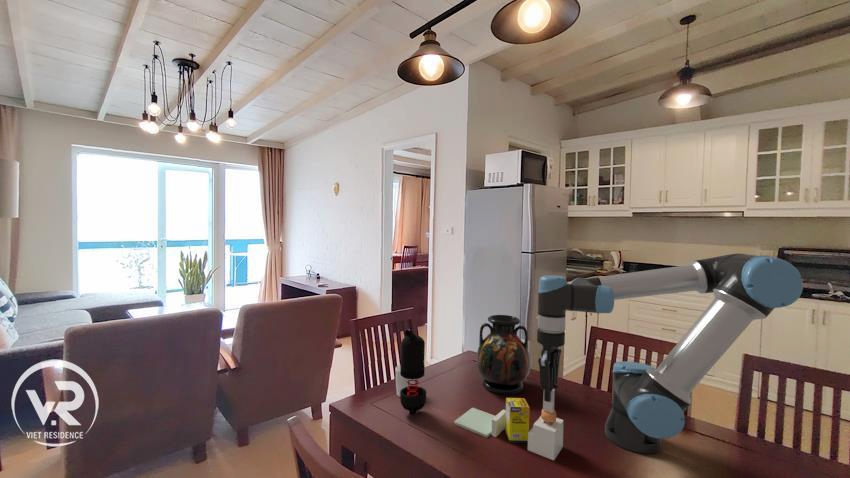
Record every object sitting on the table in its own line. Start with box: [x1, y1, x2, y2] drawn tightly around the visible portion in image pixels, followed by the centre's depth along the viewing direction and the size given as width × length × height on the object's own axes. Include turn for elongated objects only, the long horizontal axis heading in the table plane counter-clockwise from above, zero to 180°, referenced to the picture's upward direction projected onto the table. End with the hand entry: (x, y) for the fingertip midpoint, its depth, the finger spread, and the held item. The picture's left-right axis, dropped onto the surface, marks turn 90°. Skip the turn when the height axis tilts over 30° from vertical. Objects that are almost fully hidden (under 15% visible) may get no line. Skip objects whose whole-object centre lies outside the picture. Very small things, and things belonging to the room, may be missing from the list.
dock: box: [490, 409, 564, 461], centre depth 107 cm, size 19×8×8 cm, turn 52°
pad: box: [453, 407, 496, 439], centre depth 116 cm, size 12×12×1 cm
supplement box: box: [504, 397, 531, 444], centre depth 108 cm, size 6×6×11 cm
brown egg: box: [540, 408, 557, 425], centre depth 103 cm, size 4×4×6 cm
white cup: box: [394, 364, 415, 398], centre depth 136 cm, size 8×8×10 cm
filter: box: [399, 329, 427, 416], centre depth 123 cm, size 14×9×30 cm
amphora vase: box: [475, 314, 532, 395], centre depth 144 cm, size 22×22×28 cm
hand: (548, 410), depth 103 cm, fingers closed
